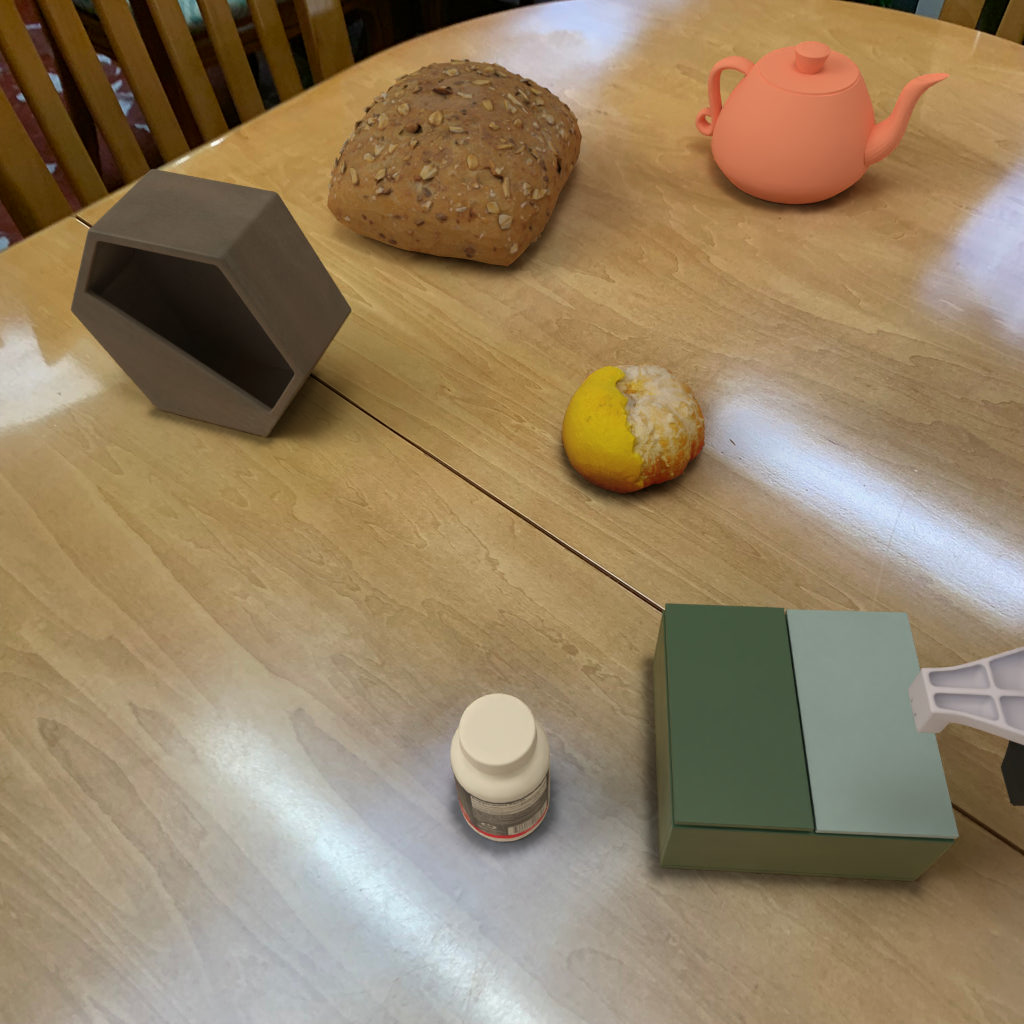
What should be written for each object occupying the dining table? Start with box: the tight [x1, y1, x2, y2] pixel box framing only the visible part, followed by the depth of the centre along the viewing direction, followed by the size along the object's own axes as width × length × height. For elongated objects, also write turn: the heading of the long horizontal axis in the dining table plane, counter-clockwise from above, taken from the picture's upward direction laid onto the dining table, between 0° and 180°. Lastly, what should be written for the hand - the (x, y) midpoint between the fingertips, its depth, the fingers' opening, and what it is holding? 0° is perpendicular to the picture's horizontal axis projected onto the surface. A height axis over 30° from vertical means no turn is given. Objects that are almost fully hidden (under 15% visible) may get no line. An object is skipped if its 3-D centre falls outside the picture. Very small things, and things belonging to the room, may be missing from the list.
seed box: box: [652, 602, 956, 882], centre depth 53 cm, size 14×13×7 cm
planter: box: [70, 168, 352, 438], centre depth 69 cm, size 17×8×21 cm
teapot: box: [694, 40, 950, 205], centre depth 89 cm, size 22×16×12 cm
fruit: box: [561, 362, 706, 495], centre depth 69 cm, size 11×10×8 cm
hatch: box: [784, 608, 960, 840], centre depth 50 cm, size 7×13×1 cm, turn 176°
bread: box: [326, 58, 583, 267], centre depth 88 cm, size 24×21×12 cm
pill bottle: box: [449, 692, 551, 843], centre depth 51 cm, size 5×5×10 cm
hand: (1020, 785), depth 44 cm, fingers closed
